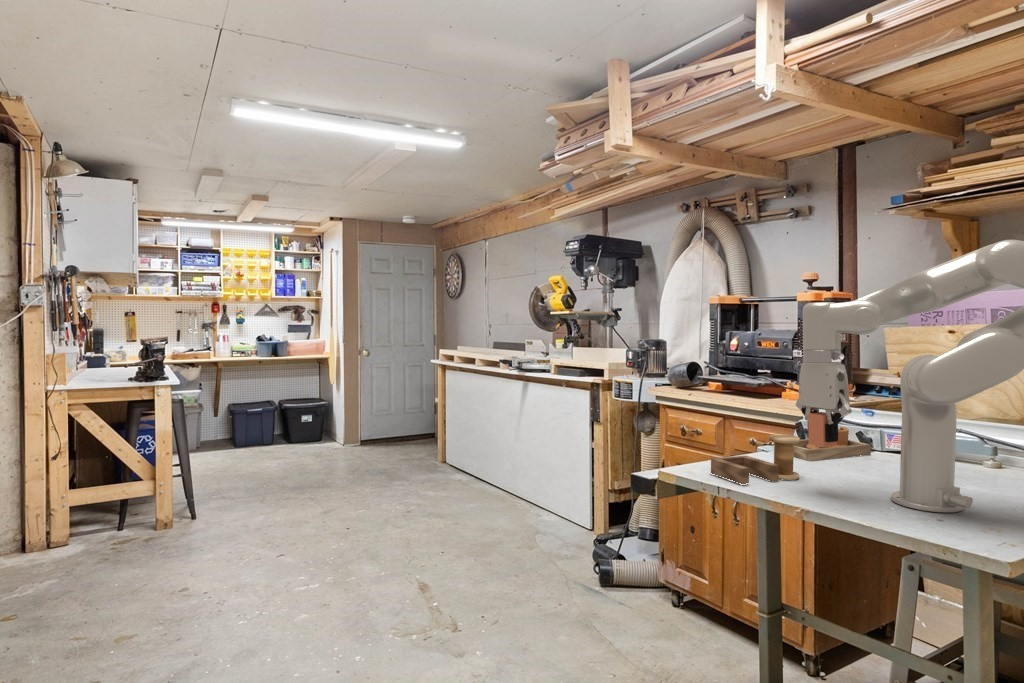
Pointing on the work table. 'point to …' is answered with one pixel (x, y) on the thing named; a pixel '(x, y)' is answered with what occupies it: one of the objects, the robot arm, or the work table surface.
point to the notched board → (744, 468)
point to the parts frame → (830, 451)
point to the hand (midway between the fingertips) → (822, 439)
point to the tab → (818, 429)
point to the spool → (784, 454)
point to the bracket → (841, 441)
